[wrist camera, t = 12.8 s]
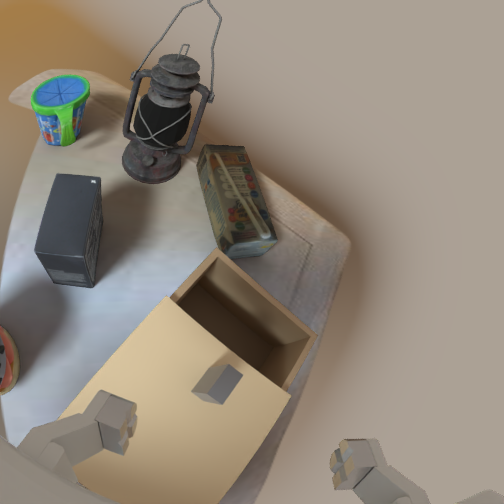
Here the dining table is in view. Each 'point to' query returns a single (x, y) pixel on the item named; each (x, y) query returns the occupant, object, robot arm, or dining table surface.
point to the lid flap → (179, 414)
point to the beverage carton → (234, 202)
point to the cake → (8, 362)
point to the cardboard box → (245, 318)
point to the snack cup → (60, 108)
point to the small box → (71, 230)
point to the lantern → (164, 114)
